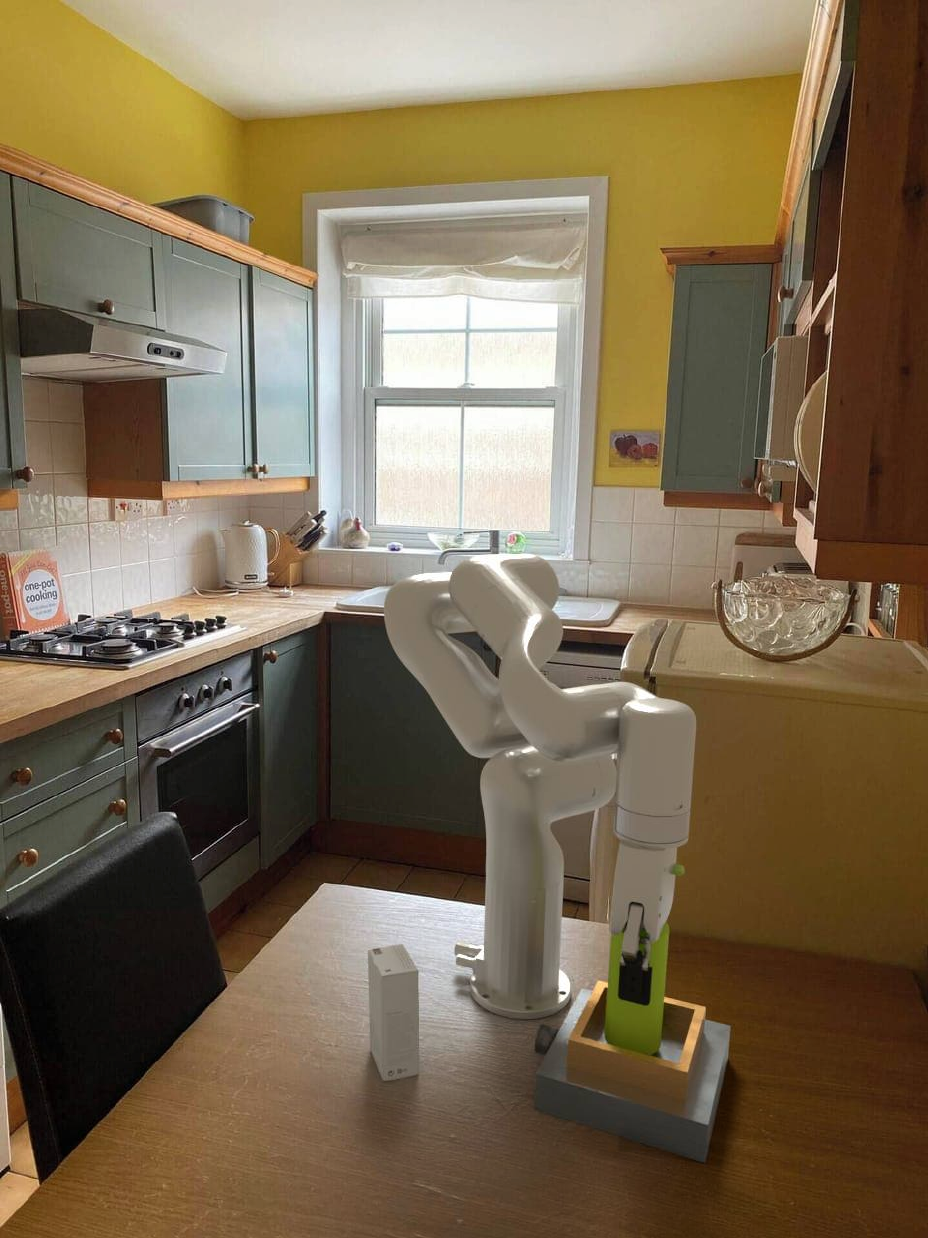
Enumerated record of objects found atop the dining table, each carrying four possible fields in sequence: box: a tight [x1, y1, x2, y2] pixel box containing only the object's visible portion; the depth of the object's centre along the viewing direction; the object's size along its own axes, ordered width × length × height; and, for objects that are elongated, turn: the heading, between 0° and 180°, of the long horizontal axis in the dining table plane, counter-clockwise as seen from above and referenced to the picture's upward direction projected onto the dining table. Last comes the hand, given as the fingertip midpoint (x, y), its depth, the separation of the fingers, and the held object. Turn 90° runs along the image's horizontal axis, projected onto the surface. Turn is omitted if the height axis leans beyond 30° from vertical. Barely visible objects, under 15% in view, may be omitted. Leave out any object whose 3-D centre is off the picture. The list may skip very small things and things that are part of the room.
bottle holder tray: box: [533, 980, 731, 1164], centre depth 95 cm, size 19×17×7 cm
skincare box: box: [367, 943, 420, 1082], centre depth 96 cm, size 6×4×12 cm
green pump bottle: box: [604, 862, 686, 1055], centre depth 93 cm, size 6×7×20 cm
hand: (641, 983), depth 93 cm, fingers closed on green pump bottle, 5 cm apart
